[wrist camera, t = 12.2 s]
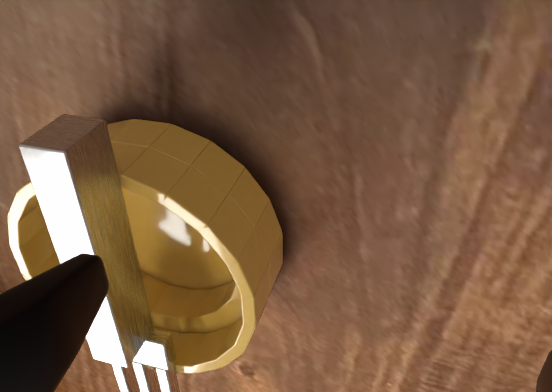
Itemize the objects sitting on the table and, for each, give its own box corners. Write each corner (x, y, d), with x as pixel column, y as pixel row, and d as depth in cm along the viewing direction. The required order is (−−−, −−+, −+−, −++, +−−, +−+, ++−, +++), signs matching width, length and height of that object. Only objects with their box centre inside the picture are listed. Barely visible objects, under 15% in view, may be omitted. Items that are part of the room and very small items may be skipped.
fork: (41, 110, 18) (-7, 140, 16) (129, 121, 17) (89, 155, 15) (127, 388, 28) (103, 427, 26) (186, 404, 27) (166, 446, 25)
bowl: (286, 131, 22) (248, 195, 18) (286, 321, 29) (259, 397, 25) (46, 100, 24) (-32, 149, 21) (100, 280, 32) (49, 342, 28)
